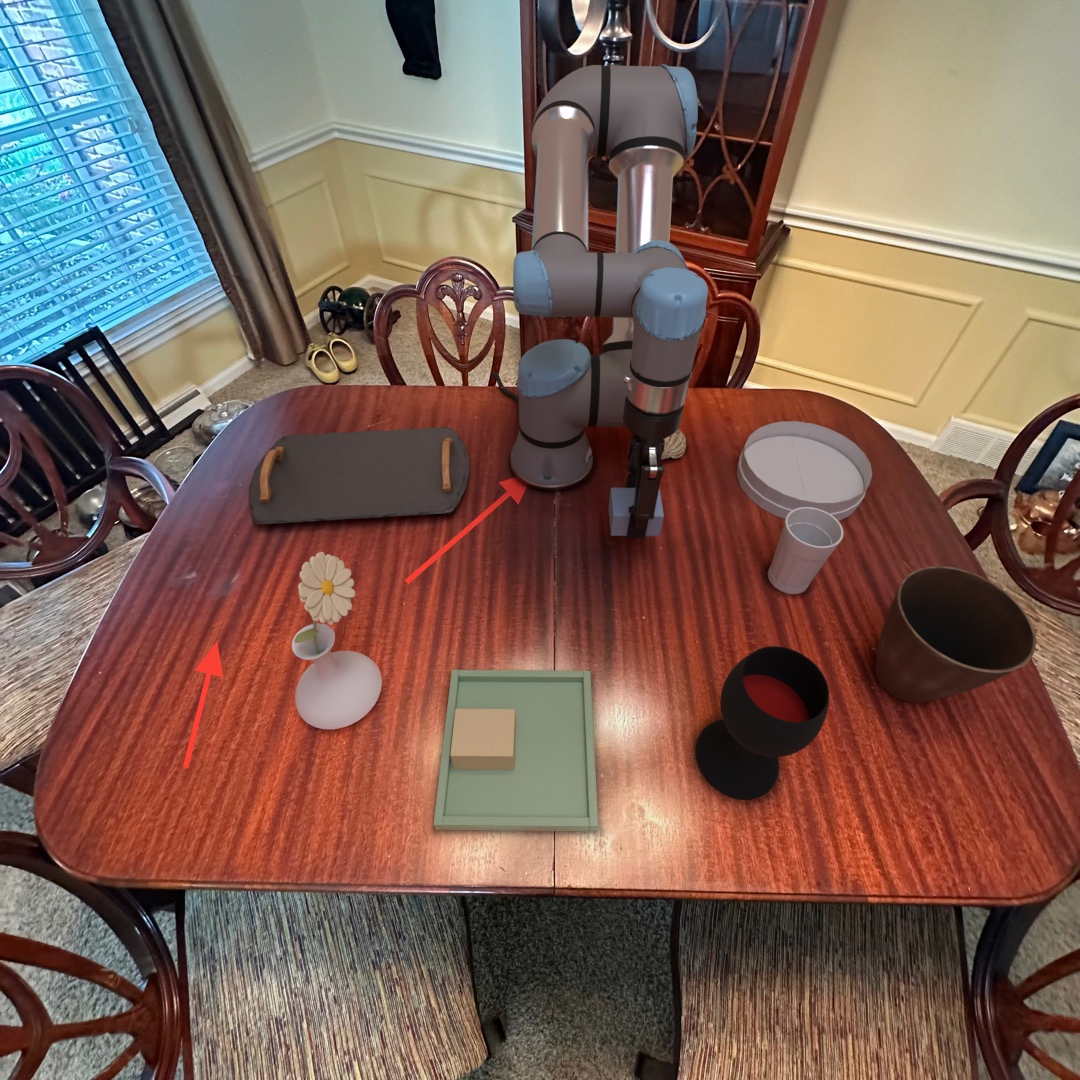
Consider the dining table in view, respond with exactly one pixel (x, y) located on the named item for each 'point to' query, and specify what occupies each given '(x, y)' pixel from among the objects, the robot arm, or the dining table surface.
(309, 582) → the flower in vase
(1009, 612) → the flower pot
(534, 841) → the dining table surface
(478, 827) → the frame
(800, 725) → the wine glass
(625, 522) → the blue pad
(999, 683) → the dining table surface
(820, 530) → the cup
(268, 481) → the serving tray
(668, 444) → the seashell
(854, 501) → the dish
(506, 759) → the tan pad
